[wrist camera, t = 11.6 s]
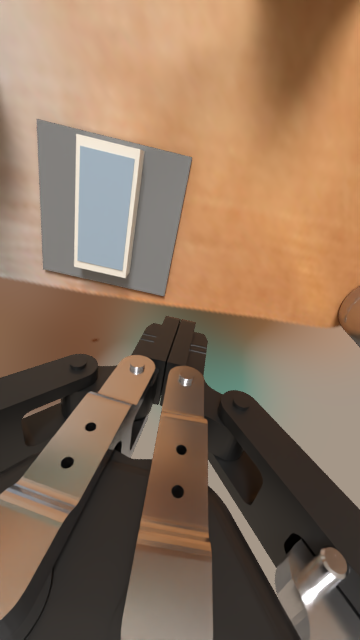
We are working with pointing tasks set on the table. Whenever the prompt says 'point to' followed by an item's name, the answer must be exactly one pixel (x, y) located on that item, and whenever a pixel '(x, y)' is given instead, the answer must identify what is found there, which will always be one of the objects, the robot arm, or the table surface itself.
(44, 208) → the rubber mat
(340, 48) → the table surface
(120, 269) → the slate tablet
